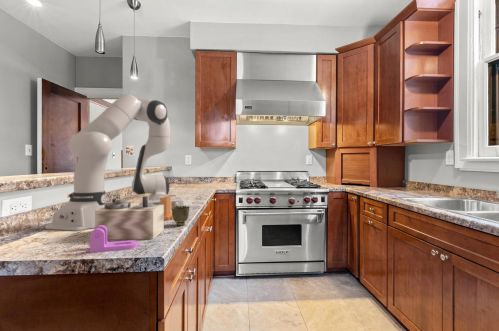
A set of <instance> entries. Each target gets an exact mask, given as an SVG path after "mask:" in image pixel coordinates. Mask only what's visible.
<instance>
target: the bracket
mask: <svg viewBox="0 0 499 331" xmlns="http://www.w3.org/2000/svg"><path fill="white" fill-rule="evenodd" d="M138 247H139V241H137V240H136V239H128V240H118V241H108V239H107V228H106V227H105V226H103V225H99V226H97V227H96V228H93V230H92V231H91V232H90V235H89V252H90V253H91V252H93V253H102V252H114V251H124V250H133V249H135V248H136V249H137V248H138ZM91 254H92V253H91Z"/></svg>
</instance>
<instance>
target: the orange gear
mask: <svg viewBox="0 0 499 331" xmlns="http://www.w3.org/2000/svg"><path fill="white" fill-rule="evenodd" d="M160 205H164V221H170V220H172V221H174V220H173V216H172V197H160Z"/></svg>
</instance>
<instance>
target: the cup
mask: <svg viewBox="0 0 499 331" xmlns="http://www.w3.org/2000/svg"><path fill="white" fill-rule="evenodd" d="M171 214H172V216H173V220H172V221H174V222H175V226H177V227H183V226H185V223H186V221H187V220H188V219H189V214H190V206H189V205H184V206H182V207H181V206H180V207H179V206H176V207H175V206H173V208H171Z"/></svg>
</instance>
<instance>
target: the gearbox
mask: <svg viewBox="0 0 499 331" xmlns="http://www.w3.org/2000/svg"><path fill="white" fill-rule="evenodd" d="M148 198H149V196H142V201H143V205H140V204H131V201H122V200H121V199H115V198H112V199H111V200H112V201H111V202H105V207H104V208H101V209H98V210H95V228H96V227H97V226H99V225H103V226H105V227H106V228H107V240H154V239H155V238H156V237H157V236H158V235H159V234H161V233H162V232H163V231H164V228H165V226H164V224H165V220H164V205H148ZM95 228H94V229H95Z"/></svg>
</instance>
